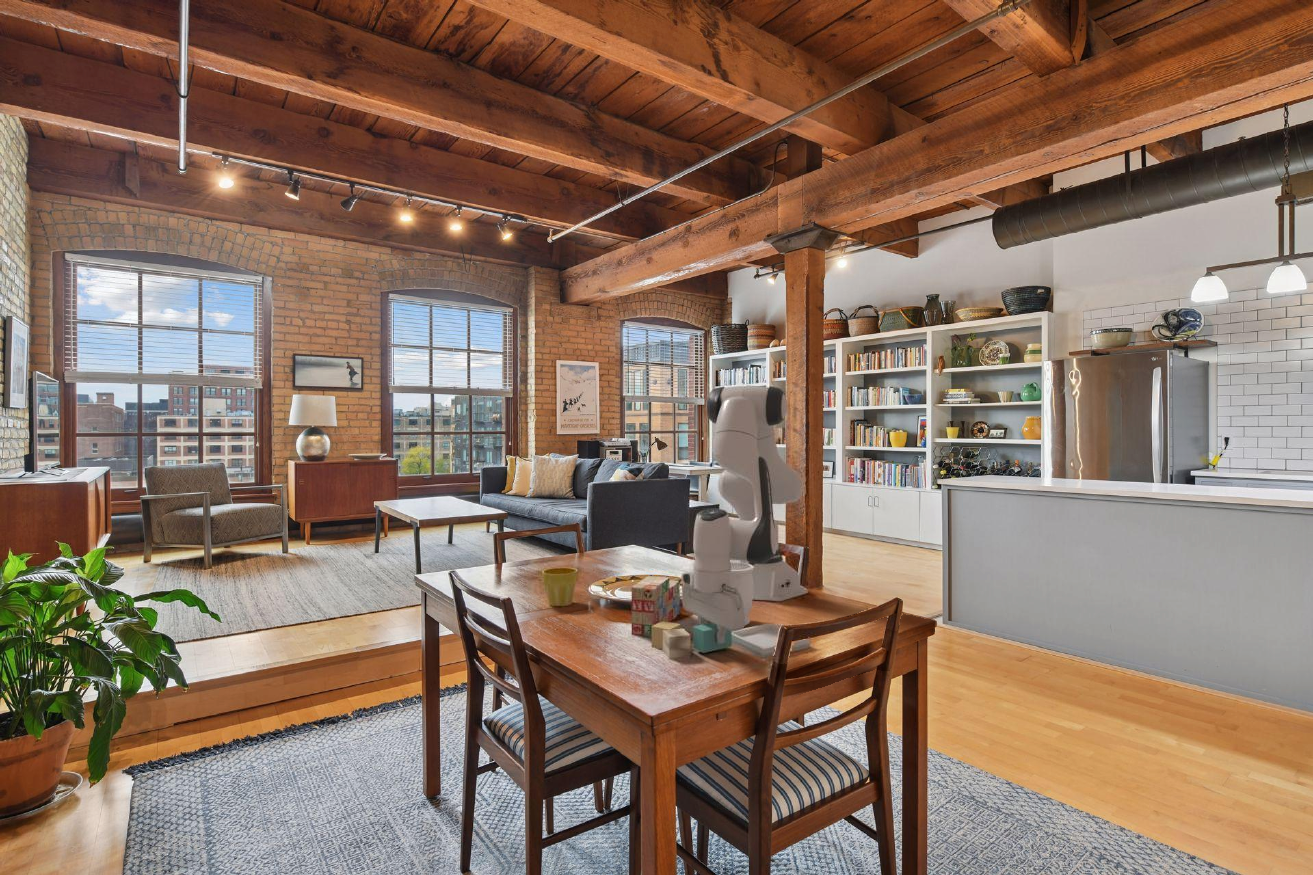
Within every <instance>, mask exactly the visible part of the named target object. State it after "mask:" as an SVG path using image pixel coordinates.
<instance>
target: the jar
mask: <svg viewBox="0 0 1313 875" xmlns="http://www.w3.org/2000/svg"><path fill="white" fill-rule="evenodd" d="M730 563H731V567H732V588H736V589H737V590H738V592H739V594H740V595H741V598H742V600H743V604H744V612H745V626H747V625H749V624H750V623H751V620H750V617H749V616H750V613H751V610H752V606H753V600H754V599H753V595H754V582H753V576H752V572H753V570H754V566H752V565H750V564H746V563H741V562H735V561H733V562H732V561H730Z"/></svg>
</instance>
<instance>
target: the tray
mask: <svg viewBox="0 0 1313 875" xmlns="http://www.w3.org/2000/svg"><path fill="white" fill-rule="evenodd" d="M780 627H781V626H779V625H776V624H774V623H771V622H769V623H765V624H760V625H759V624H758V625H754V626H750V627H745V628H743V629H741V630H737V631H732V646H733V645H734V646H735V645H736V646H735V647H738V648H740V649H742V650H744V651H746V652H749V653H751V654H753V655H755V656H756V657H759V658H762V659H763V658H765V659H768V658H767V657H769V658H773V657H774V656H773V654H774V652H775V647H776V641H777V633H778V630H779V628H780ZM810 640H811V638H810V639H803V640H801V641H797V642H796V643H794V645H793V646H792V652H791V653H793V652H796V651H801V650H806V649H810V646H811V645H810V644H811V643H810V642H811V641H810Z"/></svg>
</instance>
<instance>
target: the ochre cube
mask: <svg viewBox="0 0 1313 875" xmlns="http://www.w3.org/2000/svg"><path fill="white" fill-rule="evenodd" d="M681 626H682V625H681V623H676V622H672V621H671V622H666V621H662V622H660V623H657V624H655V625H653V626H652V637H651V648H655V649H660V650H663V630H673V629H682V628H681Z"/></svg>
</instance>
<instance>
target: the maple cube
mask: <svg viewBox="0 0 1313 875" xmlns="http://www.w3.org/2000/svg"><path fill="white" fill-rule="evenodd" d="M662 652H663V653H664V654H665V656H666V657H667V659H669V660H670V659H671V660H672V659H678V658H679V659H681V658H690V657H691V634H690V633H689V632H688V631H686V630H685V628H681V629H673V630H663V649H662Z"/></svg>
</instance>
